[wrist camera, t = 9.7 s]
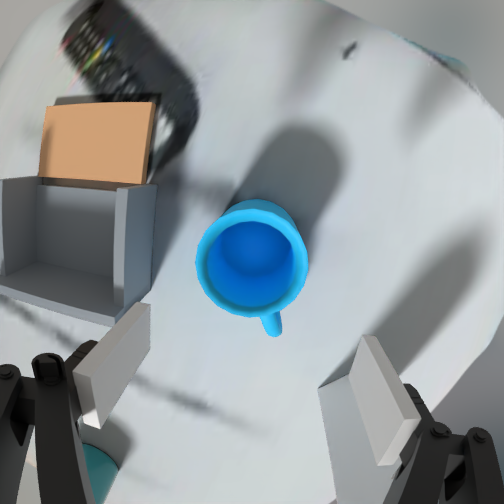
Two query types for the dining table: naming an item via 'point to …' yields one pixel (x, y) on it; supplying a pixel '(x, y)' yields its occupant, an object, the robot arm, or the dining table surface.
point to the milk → (352, 448)
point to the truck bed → (76, 247)
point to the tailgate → (97, 141)
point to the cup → (99, 472)
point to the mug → (253, 262)
